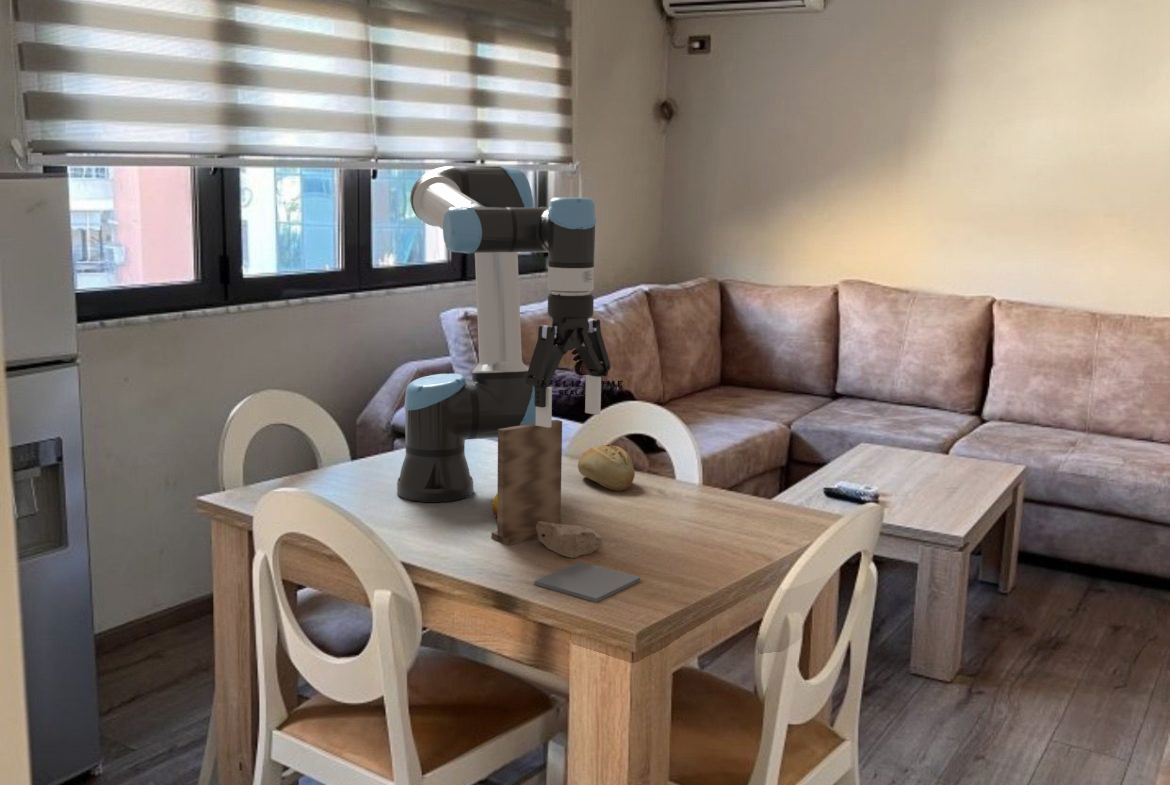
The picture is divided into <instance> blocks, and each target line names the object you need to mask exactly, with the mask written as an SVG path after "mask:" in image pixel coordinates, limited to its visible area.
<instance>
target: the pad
mask: <svg viewBox="0 0 1170 785" xmlns="http://www.w3.org/2000/svg"><path fill="white" fill-rule="evenodd" d="M641 578H642V577H641V576H636V575H633V574H630V573H626V572H621V571H618V570H615V569H610V568H607V567H603V566H600V565H596V564H591V563H588V562H584V561H578V562H575V563H573V564H570V565H568V566H566V567H563V568H561V569H558V570H556V571H554V572H552V573H550V574H547V575H544V576H542V577H540V578H538V579H536V580H534V583H533V584H534V586H539V587H542V588H546V589H549V590H553V591H556V592H559V593H563V594H566V595H571V596H573V597H577V598H580V599H585V600H587V601H591V602H594V603H598V602H600V601H602V600H604V599H606V598H607V597H610V596H612V595H615V594H616V593H618V592H620V591H622V590H625V589H626V588H629V587H631V586H633V585H635V584H637V583H639V582H641Z"/></svg>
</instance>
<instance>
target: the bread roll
mask: <svg viewBox="0 0 1170 785" xmlns="http://www.w3.org/2000/svg"><path fill="white" fill-rule="evenodd" d="M577 469H578V471H579V473H580V475H581V476H584V477H585V478H587V479H589V480H591V481H594V482H596V483H597V484H598V485H601V486H602V487H604V488H606V489H609V490H611V491H614V492H615V491H617V492H618V491H619V492H622V491H625V490H627V489H629V488H630V487H631V485H632V484H633V482H634V479H635V467H634V462H633V460H632V457H631V456H630V454H629V453H628V452H627V451H626V450H625V449H624V448H622V447H620V446H618V445H612V444H610V443H609V444H602V445H598V446H595V447H591V448H589V449H587V450H586V451H584V452H583V453H582V454H581V455H580V458H579V459H578V463H577Z"/></svg>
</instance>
